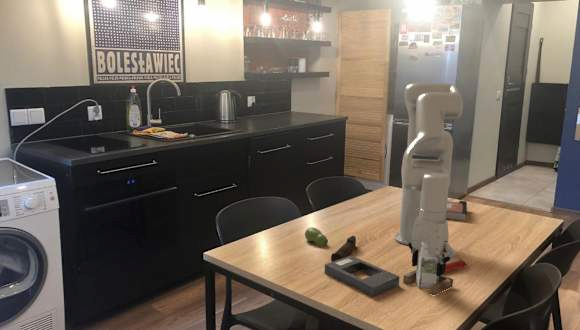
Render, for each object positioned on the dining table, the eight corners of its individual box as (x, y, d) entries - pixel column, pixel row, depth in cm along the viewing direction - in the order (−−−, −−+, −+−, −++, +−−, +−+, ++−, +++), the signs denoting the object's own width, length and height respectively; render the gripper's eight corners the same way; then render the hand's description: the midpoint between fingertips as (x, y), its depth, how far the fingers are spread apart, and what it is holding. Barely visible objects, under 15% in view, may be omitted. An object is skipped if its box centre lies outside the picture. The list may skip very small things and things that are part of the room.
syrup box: (434, 281, 147) (438, 237, 144) (438, 290, 141) (442, 244, 138) (415, 280, 147) (419, 236, 144) (418, 289, 141) (422, 243, 138)
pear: (313, 223, 181) (332, 235, 174) (311, 236, 182) (330, 247, 176) (303, 226, 177) (321, 238, 170) (300, 239, 179) (319, 251, 172)
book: (403, 215, 213) (404, 205, 211) (408, 205, 229) (408, 195, 228) (465, 223, 204) (467, 212, 203) (465, 211, 220) (466, 201, 219)
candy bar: (434, 277, 150) (434, 268, 150) (425, 272, 153) (426, 264, 153) (468, 267, 158) (469, 259, 158) (459, 263, 161) (460, 255, 161)
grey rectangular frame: (350, 263, 158) (350, 254, 158) (398, 285, 143) (399, 275, 143) (324, 273, 151) (324, 263, 150) (372, 297, 136) (373, 286, 135)
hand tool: (341, 266, 157) (342, 252, 156) (330, 263, 159) (331, 250, 158) (361, 247, 174) (362, 236, 173) (351, 245, 175) (352, 233, 174)
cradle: (421, 274, 152) (422, 267, 151) (452, 286, 143) (453, 279, 143) (403, 282, 146) (403, 275, 145) (433, 296, 137) (434, 288, 137)
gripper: (400, 209, 144) (396, 263, 147) (452, 225, 131) (446, 283, 134) (415, 205, 148) (411, 257, 152) (466, 220, 135) (460, 276, 139)
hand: (427, 269), depth 143 cm, fingers closed on syrup box, 8 cm apart
